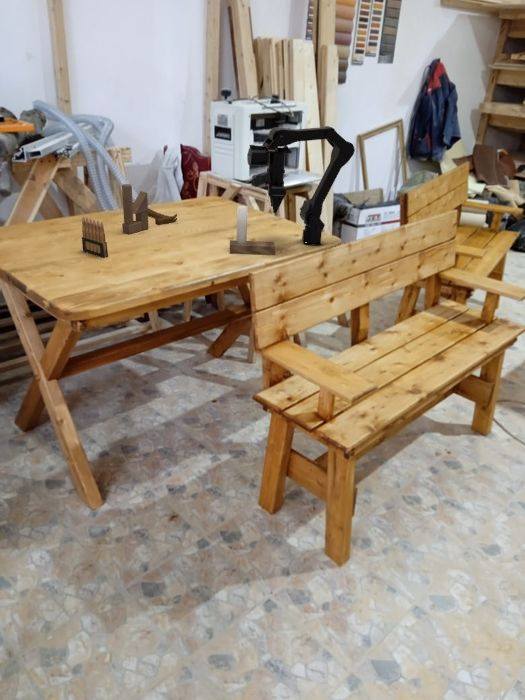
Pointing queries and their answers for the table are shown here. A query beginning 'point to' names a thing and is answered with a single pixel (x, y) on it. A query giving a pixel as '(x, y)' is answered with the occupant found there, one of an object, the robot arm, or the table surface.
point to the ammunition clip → (94, 238)
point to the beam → (253, 247)
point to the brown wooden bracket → (134, 210)
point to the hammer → (161, 217)
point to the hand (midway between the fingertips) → (273, 209)
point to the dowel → (241, 225)
